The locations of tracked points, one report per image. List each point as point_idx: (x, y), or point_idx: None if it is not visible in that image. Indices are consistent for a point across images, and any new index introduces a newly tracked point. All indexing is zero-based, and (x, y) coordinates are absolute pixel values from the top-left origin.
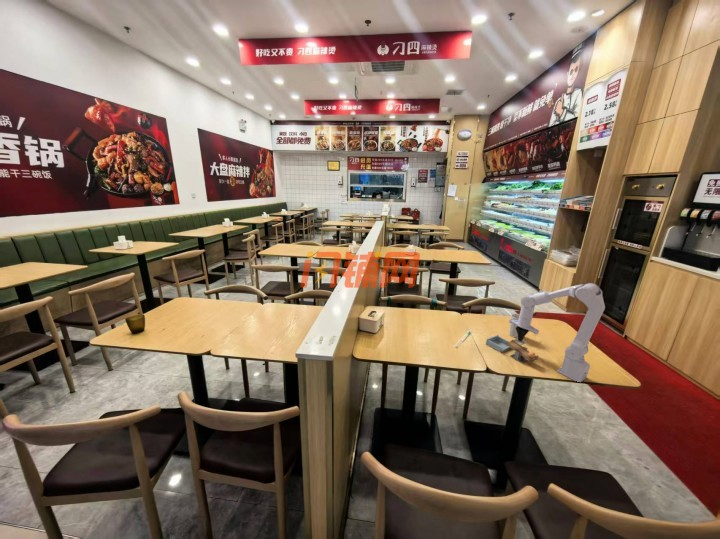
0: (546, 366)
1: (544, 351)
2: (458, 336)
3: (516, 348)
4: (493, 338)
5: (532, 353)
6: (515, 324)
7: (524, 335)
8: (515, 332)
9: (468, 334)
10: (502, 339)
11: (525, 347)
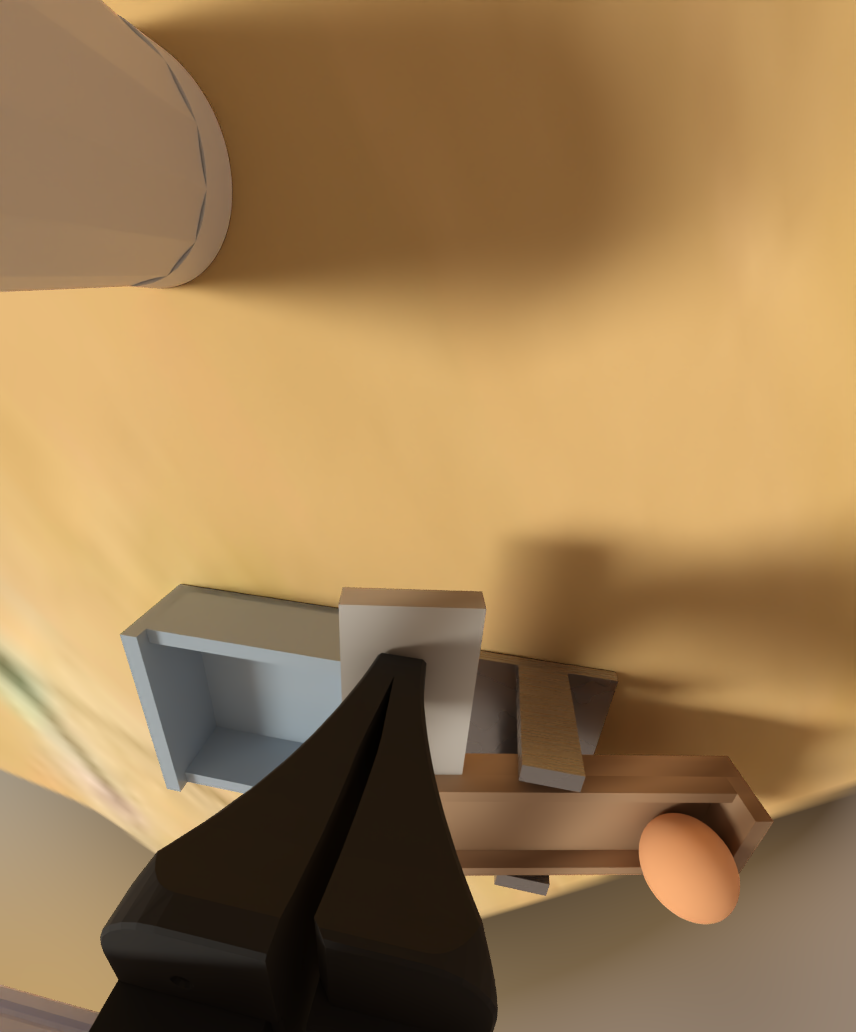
0: (828, 678)
1: (741, 286)
2: (42, 764)
3: (487, 873)
4: (172, 702)
5: (707, 923)
6: (37, 1024)
7: (417, 753)
8: (121, 271)
9: (22, 687)
10: (224, 647)
11: (551, 772)
